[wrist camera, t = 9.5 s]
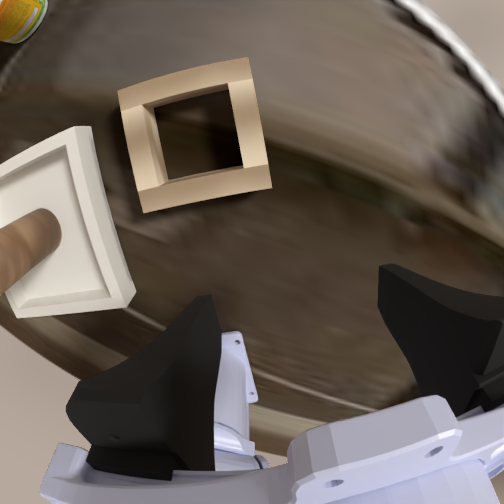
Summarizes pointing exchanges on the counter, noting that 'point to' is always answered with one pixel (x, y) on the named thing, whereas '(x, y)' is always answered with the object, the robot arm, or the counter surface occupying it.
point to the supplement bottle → (20, 18)
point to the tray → (66, 228)
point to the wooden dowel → (26, 244)
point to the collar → (149, 148)
